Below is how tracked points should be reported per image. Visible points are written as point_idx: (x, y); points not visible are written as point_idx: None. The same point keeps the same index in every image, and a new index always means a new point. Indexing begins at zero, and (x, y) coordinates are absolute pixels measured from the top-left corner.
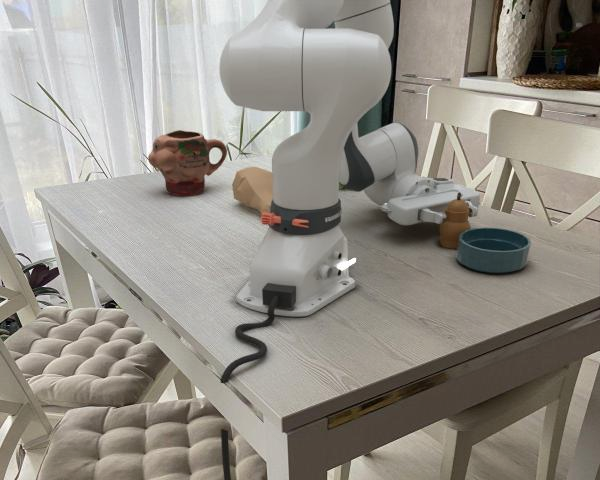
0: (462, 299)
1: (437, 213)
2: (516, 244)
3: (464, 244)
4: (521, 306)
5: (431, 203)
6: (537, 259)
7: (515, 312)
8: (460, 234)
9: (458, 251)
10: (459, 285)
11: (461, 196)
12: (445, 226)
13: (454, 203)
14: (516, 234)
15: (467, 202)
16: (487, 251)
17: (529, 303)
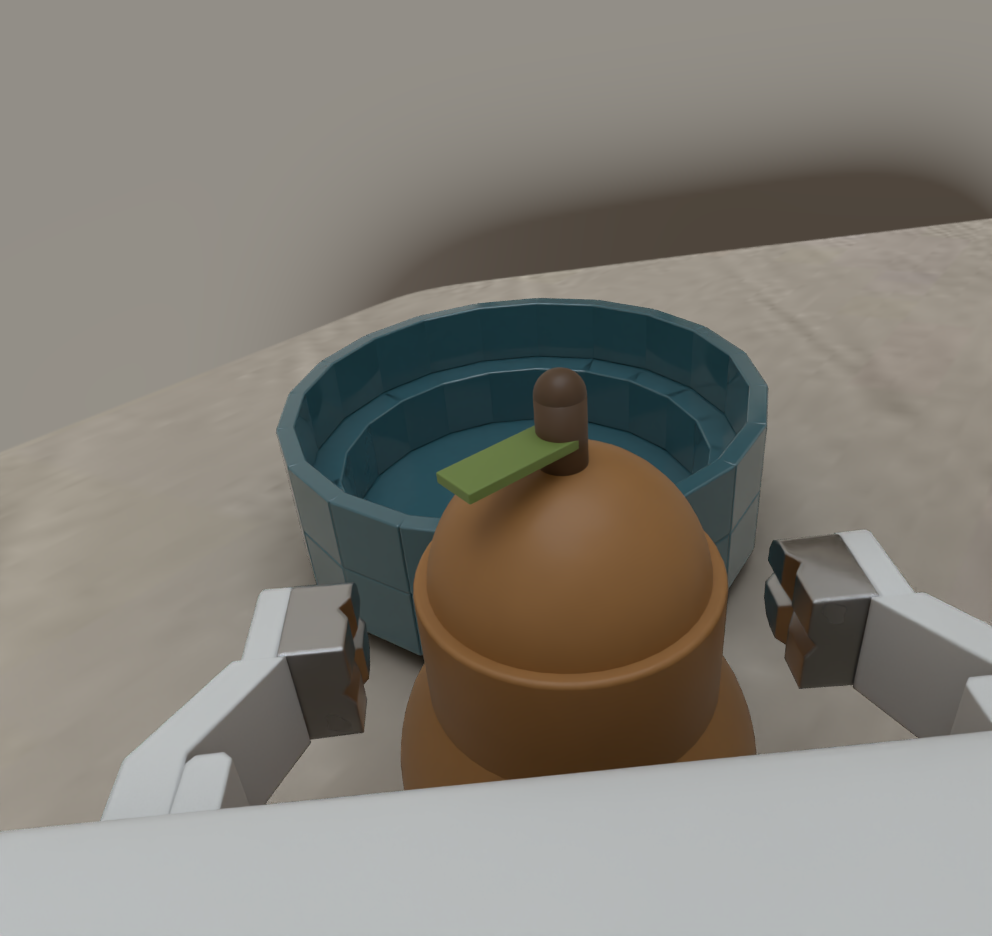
0: (894, 337)
1: (883, 574)
2: (331, 459)
3: (765, 384)
4: (688, 290)
5: (927, 743)
6: (262, 486)
7: (733, 277)
8: (706, 479)
9: (759, 491)
10: (859, 400)
11: (511, 438)
12: (734, 674)
13: (649, 468)
14: (300, 428)
15: (183, 765)
16: (677, 320)
17: (647, 296)
